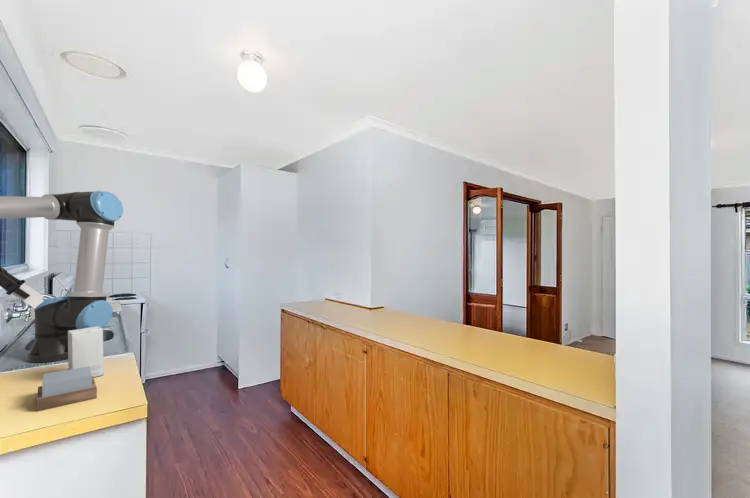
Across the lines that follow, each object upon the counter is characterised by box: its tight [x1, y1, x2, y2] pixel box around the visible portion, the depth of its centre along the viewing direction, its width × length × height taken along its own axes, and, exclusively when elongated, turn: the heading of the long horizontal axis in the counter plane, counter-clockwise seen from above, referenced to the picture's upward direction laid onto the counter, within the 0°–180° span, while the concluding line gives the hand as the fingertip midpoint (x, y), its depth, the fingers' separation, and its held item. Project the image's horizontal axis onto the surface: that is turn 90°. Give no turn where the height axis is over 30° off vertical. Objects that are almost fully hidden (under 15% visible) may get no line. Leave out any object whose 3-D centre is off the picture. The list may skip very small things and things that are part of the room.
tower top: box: [41, 367, 92, 398], centre depth 98 cm, size 10×10×4 cm
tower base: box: [36, 376, 98, 413], centre depth 98 cm, size 12×12×4 cm
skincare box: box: [67, 326, 105, 378], centre depth 114 cm, size 8×7×16 cm
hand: (39, 302), depth 107 cm, fingers open, 13 cm apart
